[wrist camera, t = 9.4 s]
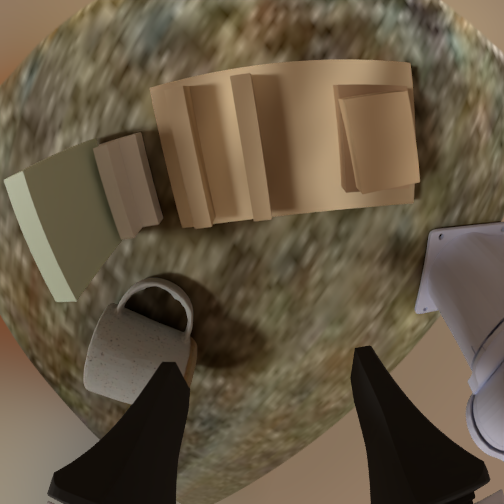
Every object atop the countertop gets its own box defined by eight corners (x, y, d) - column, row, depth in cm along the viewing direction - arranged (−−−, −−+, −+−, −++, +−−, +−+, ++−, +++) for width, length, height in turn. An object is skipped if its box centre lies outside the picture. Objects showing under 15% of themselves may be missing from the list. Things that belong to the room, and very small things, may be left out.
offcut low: (398, 85, 13) (407, 86, 12) (401, 181, 16) (409, 188, 15) (332, 85, 14) (337, 84, 13) (341, 186, 17) (345, 192, 16)
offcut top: (397, 90, 13) (407, 90, 12) (410, 175, 15) (419, 182, 14) (337, 99, 13) (344, 99, 12) (356, 187, 16) (362, 194, 15)
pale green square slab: (95, 138, 16) (22, 170, 10) (125, 236, 19) (76, 301, 13) (77, 144, 16) (3, 179, 10) (106, 239, 19) (56, 302, 13)
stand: (141, 131, 16) (124, 138, 14) (163, 218, 19) (151, 235, 17) (59, 158, 17) (38, 169, 15) (83, 232, 20) (67, 248, 18)
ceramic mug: (186, 368, 28) (171, 434, 21) (109, 340, 26) (81, 401, 20) (219, 292, 23) (205, 372, 16) (120, 255, 21) (74, 321, 15)
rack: (403, 63, 13) (422, 61, 11) (407, 197, 18) (423, 212, 16) (155, 87, 15) (139, 88, 13) (185, 221, 20) (176, 239, 17)
